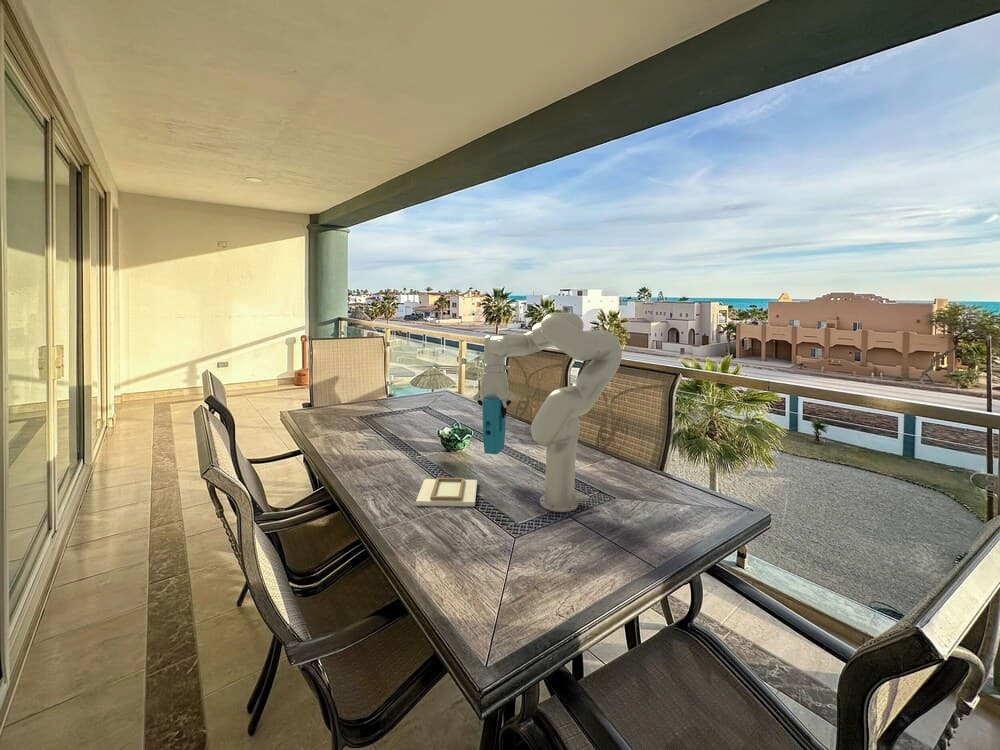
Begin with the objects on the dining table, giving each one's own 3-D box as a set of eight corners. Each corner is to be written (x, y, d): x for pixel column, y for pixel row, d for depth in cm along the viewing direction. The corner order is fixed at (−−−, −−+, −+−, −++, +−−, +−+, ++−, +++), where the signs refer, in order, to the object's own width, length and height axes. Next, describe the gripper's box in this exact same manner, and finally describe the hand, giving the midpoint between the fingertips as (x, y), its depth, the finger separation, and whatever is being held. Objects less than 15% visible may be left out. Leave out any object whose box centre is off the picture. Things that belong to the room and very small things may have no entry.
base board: (477, 483, 167) (477, 477, 167) (474, 506, 148) (474, 499, 148) (424, 482, 167) (424, 476, 166) (415, 505, 148) (415, 498, 148)
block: (494, 456, 164) (494, 400, 161) (481, 454, 166) (481, 399, 163) (506, 446, 175) (506, 395, 172) (493, 445, 177) (494, 394, 174)
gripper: (517, 367, 170) (517, 415, 173) (471, 367, 170) (471, 415, 172) (518, 370, 163) (518, 420, 165) (470, 370, 162) (470, 420, 165)
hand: (494, 417), depth 169 cm, fingers closed on block, 5 cm apart
